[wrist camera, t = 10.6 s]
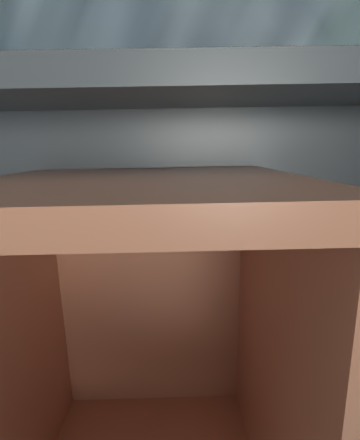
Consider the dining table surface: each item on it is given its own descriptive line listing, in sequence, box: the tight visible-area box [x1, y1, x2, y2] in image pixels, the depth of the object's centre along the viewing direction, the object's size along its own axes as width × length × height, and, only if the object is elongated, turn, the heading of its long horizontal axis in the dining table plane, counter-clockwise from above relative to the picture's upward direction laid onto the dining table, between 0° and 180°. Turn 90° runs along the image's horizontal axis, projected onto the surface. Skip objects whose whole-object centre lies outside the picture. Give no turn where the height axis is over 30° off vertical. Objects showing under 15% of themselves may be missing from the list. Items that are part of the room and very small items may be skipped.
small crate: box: [0, 166, 360, 440], centre depth 9 cm, size 10×8×8 cm
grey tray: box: [0, 45, 360, 187], centre depth 11 cm, size 16×21×5 cm
